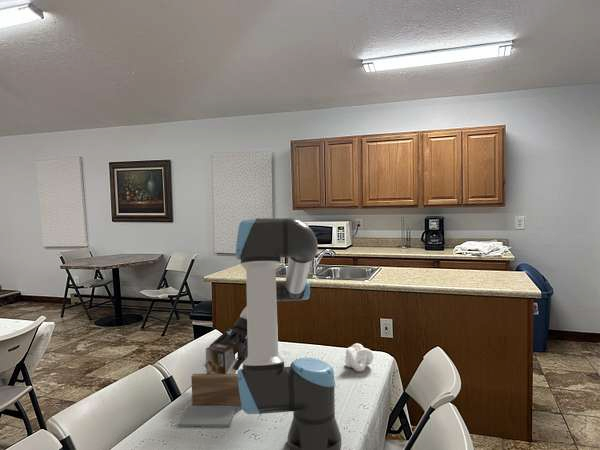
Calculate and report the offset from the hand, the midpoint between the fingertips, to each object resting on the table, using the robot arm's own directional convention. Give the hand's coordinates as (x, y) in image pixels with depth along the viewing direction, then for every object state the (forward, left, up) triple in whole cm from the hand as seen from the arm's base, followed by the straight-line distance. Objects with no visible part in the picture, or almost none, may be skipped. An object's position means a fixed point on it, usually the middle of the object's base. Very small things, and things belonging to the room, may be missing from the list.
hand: (216, 372), depth 149 cm
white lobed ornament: (+22, -52, -8) cm, 57 cm away
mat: (-17, -1, -7) cm, 19 cm away
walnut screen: (-8, -3, -7) cm, 12 cm away
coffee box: (+2, -1, -8) cm, 8 cm away
